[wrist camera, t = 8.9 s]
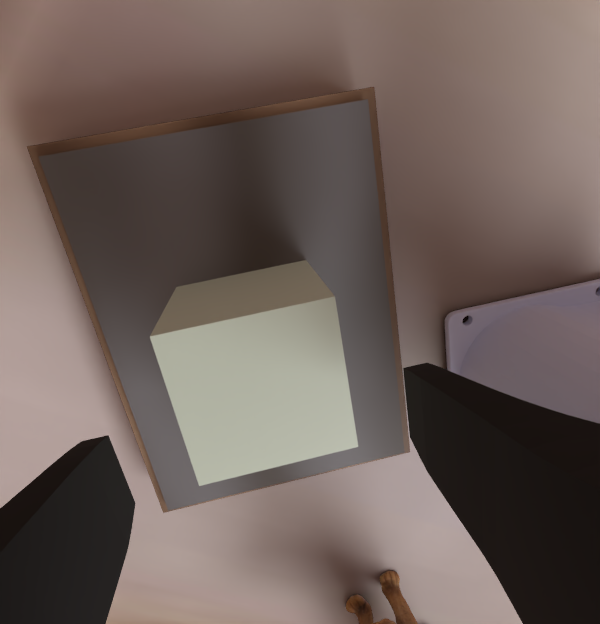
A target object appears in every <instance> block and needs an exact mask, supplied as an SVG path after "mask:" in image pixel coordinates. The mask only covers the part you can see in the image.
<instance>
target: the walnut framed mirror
mask: <svg viewBox="0 0 600 624" xmlns="http://www.w3.org/2000/svg"><path fill="white" fill-rule="evenodd" d="M27 148H28V151H29V154H30V157H31V159H32V162H33V165H34V167H35V170H36V173H37V175H38V178H39V181H40V183H41V186H42V189H43V191H44V194H45V197H46V199H47V202H48V205H49V207H50V210H51V213H52V215H53V218H54V221H55V224H56V226H57V229H58V232H59V234H60V237H61V240H62V242H63V245H64V248H65V250H66V253H67V256H68V258H69V261H70V264H71V266H72V269H73V272H74V274H75V277H76V280H77V282H78V285H79V288H80V291H81V293H82V296H83V299H84V301H85V304H86V307H87V309H88V312H89V315H90V317H91V320H92V323H93V325H94V328H95V331H96V333H97V336H98V339H99V341H100V344H101V347H102V349H103V352H104V355H105V358H106V360H107V363H108V366H109V368H110V371H111V374H112V376H113V379H114V382H115V384H116V387H117V390H118V392H119V395H120V398H121V400H122V403H123V406H124V408H125V411H126V414H127V416H128V419H129V422H130V425H131V427H132V430H133V433H134V435H135V438H136V441H137V443H138V446H139V449H140V451H141V454H142V457H143V459H144V462H145V465H146V467H147V470H148V473H149V475H150V478H151V481H152V483H153V486H154V489H155V492H156V494H157V497H158V500H159V502H160V505H161V508H162V510H163V513H164V512H168V511H172V510H177V509H181V508H185V507H189V506H193V505H197V504H201V503H205V502H209V501H213V500H217V499H221V498H225V497H229V496H233V495H237V494H241V493H246V492H250V491H254V490H258V489H262V488H266V487H270V486H274V485H278V484H282V483H286V482H290V481H294V480H298V479H302V478H306V477H311V476H315V475H319V474H323V473H327V472H331V471H335V470H339V469H343V468H347V467H351V466H355V465H359V464H363V463H367V462H371V461H375V460H380V459H384V458H388V457H392V456H396V455H400V454H404V453H408V452H410V446H409V436H408V426H407V416H406V405H405V395H404V385H403V375H402V365H401V355H400V344H399V334H398V324H397V314H396V304H395V294H394V283H393V273H392V263H391V253H390V243H389V233H388V222H387V212H386V202H385V192H384V182H383V172H382V161H381V151H380V141H379V131H378V121H377V111H376V100H375V90H374V87H370V88H364V89H359V90H353V91H347V92H341V93H335V94H329V95H324V96H318V97H312V98H306V99H300V100H295V101H289V102H283V103H277V104H271V105H266V106H260V107H254V108H248V109H242V110H237V111H231V112H225V113H219V114H213V115H207V116H202V117H196V118H190V119H184V120H178V121H173V122H167V123H161V124H155V125H149V126H144V127H138V128H132V129H126V130H120V131H114V132H109V133H103V134H97V135H91V136H85V137H80V138H74V139H68V140H62V141H56V142H51V143H45V144H39V145H33V146H27ZM303 260H306V261H307V262H308V263H309V264H310V266H311V267H312V268H313V269H314V271H315V272H316V273H317V274H318V276H319V277H320V278H321V279H322V281H323V282H324V283H325V285H326V286H327V287H328V288H329V290H330V291H331V292H332V293H333V295H334V296H335V300H336V306H337V313H338V319H339V325H340V332H341V338H342V345H343V351H344V358H345V364H346V370H347V377H348V383H349V390H350V396H351V402H352V409H353V415H354V422H355V428H356V435H357V441H358V447H356V448H352V449H348V450H344V451H339V452H335V453H331V454H327V455H323V456H319V457H315V458H311V459H307V460H303V461H299V462H295V463H291V464H287V465H283V466H279V467H275V468H271V469H267V470H262V471H258V472H254V473H250V474H246V475H242V476H238V477H234V478H230V479H226V480H222V481H218V482H214V483H210V484H206V485H202V486H199V484H198V481H197V478H196V475H195V472H194V469H193V466H192V463H191V460H190V457H189V454H188V451H187V448H186V445H185V442H184V439H183V436H182V433H181V430H180V427H179V424H178V421H177V418H176V415H175V412H174V409H173V406H172V403H171V400H170V397H169V394H168V391H167V388H166V385H165V382H164V379H163V376H162V372H161V369H160V366H159V363H158V360H157V357H156V354H155V351H154V348H153V345H152V342H151V339H150V335H151V333H152V331H153V329H154V328H155V326H156V324H157V322H158V320H159V318H160V316H161V315H162V313H163V311H164V309H165V307H166V305H167V304H168V302H169V300H170V298H171V296H172V294H173V292H174V291H175V289H176V287H179V286H183V285H188V284H193V283H198V282H203V281H207V280H212V279H217V278H222V277H227V276H231V275H236V274H241V273H246V272H251V271H255V270H260V269H265V268H270V267H275V266H279V265H284V264H289V263H294V262H299V261H303Z"/></svg>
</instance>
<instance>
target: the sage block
mask: <svg viewBox="0 0 600 624" xmlns="http://www.w3.org/2000/svg"><path fill="white" fill-rule="evenodd" d="M150 339H151V342H152V345H153V348H154V351H155V354H156V357H157V360H158V363H159V366H160V369H161V372H162V376H163V379H164V382H165V385H166V388H167V391H168V394H169V397H170V400H171V403H172V406H173V409H174V412H175V415H176V418H177V421H178V424H179V427H180V430H181V433H182V436H183V439H184V442H185V445H186V448H187V451H188V454H189V457H190V460H191V463H192V466H193V469H194V472H195V475H196V478H197V481H198V484H199V486H202V485H206V484H210V483H214V482H218V481H222V480H226V479H230V478H234V477H238V476H242V475H246V474H250V473H254V472H258V471H262V470H267V469H271V468H275V467H279V466H283V465H287V464H291V463H295V462H299V461H303V460H307V459H311V458H315V457H319V456H323V455H327V454H331V453H335V452H339V451H344V450H348V449H352V448H356V447H358V441H357V435H356V428H355V422H354V415H353V409H352V402H351V396H350V390H349V383H348V377H347V370H346V364H345V358H344V351H343V345H342V338H341V332H340V325H339V319H338V313H337V306H336V300H335V296H334V295H333V293H332V292H331V291H330V290H329V288H328V287H327V286H326V285H325V283H324V282H323V281H322V279H321V278H320V277H319V276H318V274H317V273H316V272H315V271H314V269H313V268H312V267H311V266H310V264H309V263H308V262H307V261H306V260H303V261H299V262H294V263H289V264H284V265H279V266H275V267H270V268H265V269H260V270H255V271H251V272H246V273H241V274H236V275H231V276H227V277H222V278H217V279H212V280H207V281H203V282H198V283H193V284H188V285H183V286H179V287H176V289H175V291H174V292H173V294H172V296H171V298H170V300H169V302H168V304H167V305H166V307H165V309H164V311H163V313H162V315H161V316H160V318H159V320H158V322H157V324H156V326H155V328H154V329H153V331H152V333H151V335H150Z"/></svg>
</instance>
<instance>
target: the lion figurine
mask: <svg viewBox="0 0 600 624" xmlns="http://www.w3.org/2000/svg"><path fill="white" fill-rule="evenodd" d="M399 580H400V579H399V576H398V574H397V572H394V571H386V572H385V573H383V574H382V575H381V576H380V583H381V585H382V592H383V593H384V595H385V596H386V598H387V599H388V601H389V603H390V605H391V607H392V609H393V611H394V614H395V617H396V623H395V622H393V621H390V620H389V619H383V620H381V621H380V622H376V623H373V614H372V610H371V606H370V604H369V603H368V602H367V601H366V600H365V599H364V598H363V597H362V596H360V595H358V594H356V595H354V596H351V597H350V598H349V599H348V601H347V603H346V609H347V611H348V612H350V613H355V614H356V616H357V617H358V621H359V624H418V623H417V621H416V620H415V618H414V616H413V614H412V613H411V611H410V608H409V606H408V604H407V603H406V601H405V599H404V598H403V596H402V594H401V591H400V588H399Z"/></svg>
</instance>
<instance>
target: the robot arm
mask: <svg viewBox="0 0 600 624" xmlns="http://www.w3.org/2000/svg"><path fill="white" fill-rule="evenodd" d="M598 287H599V289H598V291H597V292H596V289H597V288H598ZM465 316H468V320H467V321H466V322H465V323H463V322H462V321H463V319H464V317H465ZM445 338H446V356H447V370H446V369H443V368H441V367H438V366H435V365H433V364H429V363H424V364H419V365H415V366H411V367H406V368H403V369H404V379H405V390H406V400H407V410H408V420H409V431H410V438H411V440H412V442H413V444H414V446H415V448H416V450H417V452H418V454H419V456H420V458H421V460H422V462H423V464H424V466H425V468H426V470H427V472H428V473H429V475H430V476H431V478H432V479H433V481H434V482H435V484H436V485H437V487H438V488H439V490H440V491H441V493H442V494H443V496H444V497H445V499H446V500H447V502H448V503H449V505H450V506H451V508H452V509H453V511H454V512H455V514H456V515H457V517H458V518H459V519H460V521H461V522H462V524H463V525H464V527H465V528H466V530H467V531H468V533H469V534H470V536H471V537H472V539H473V540H474V542H475V543H476V545H477V546H478V547H479V549H480V550H481V552H482V553H483V555H484V556H485V558H486V560H487V561H488V563H489V564H490V566H491V568H492V569H493V571H494V572H495V574H496V576H497V577H498V579H499V581H500V583H501V585H502V586H503V588H504V590H505V592H506V594H507V596H508V597H509V599H510V601H511V603H512V605H513V606H514V608H515V610H516V612H517V614H518V615H519V617H520V619H521V621H522V623H523V624H600V279H597V280H592V281H588V282H583V283H579V284H574V285H570V286H565V287H560V288H556V289H551V290H547V291H542V292H538V293H533V294H529V295H524V296H520V297H515V298H510V299H506V300H501V301H497V302H492V303H488V304H483V305H479V306H474V307H470V308H465V309H461V310H456V311H453V312H450V313H449V314H448V315H447V316H446V318H445ZM134 508H135V501H134V499H133V496H132V494H131V491H130V489H129V486H128V484H127V481H126V479H125V476H124V474H123V471H122V469H121V466H120V464H119V461H118V459H117V456H116V454H115V451H114V449H113V446H112V444H111V441H110V439H109V436H103V437H99V438H95V439H90V440H86V441H82V442H80V443H79V444H77V445H76V446H75V447H73V448H72V449H71V450H69V451H68V452H67V453H65V454H64V455H63V456H62V457H61V458H59V459H58V460H57V461H56V462H54V463H53V464H52V465H51V466H50V467H49V468H47V469H46V470H45V471H44V472H43V473H42V474H40V475H39V476H38V477H37V478H36V479H34V480H33V481H32V482H31V483H30V484H29V485H27V486H26V487H25V488H24V489H23V490H22V491H20V492H19V493H18V494H17V495H16V496H15V497H13V498H12V499H11V500H10V501H9V502H8V503H6V504H5V505H4V506H3V507H2V508H0V624H105V623H106V620H107V617H108V613H109V610H110V607H111V604H112V600H113V597H114V594H115V590H116V587H117V584H118V580H119V577H120V574H121V570H122V567H123V563H124V560H125V556H126V553H127V549H128V545H129V540H130V534H131V529H132V522H133V515H134Z"/></svg>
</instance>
